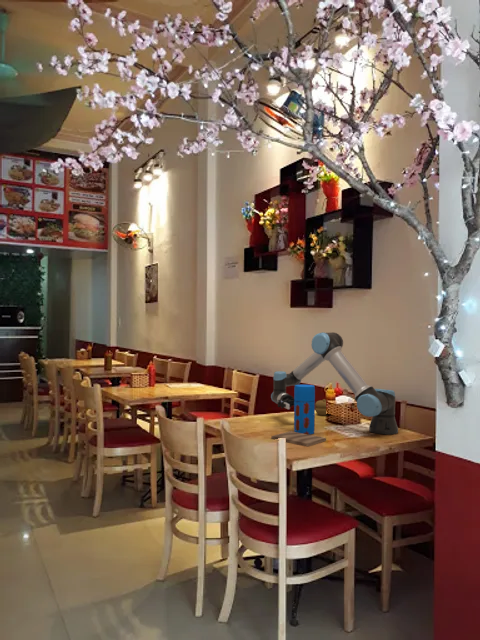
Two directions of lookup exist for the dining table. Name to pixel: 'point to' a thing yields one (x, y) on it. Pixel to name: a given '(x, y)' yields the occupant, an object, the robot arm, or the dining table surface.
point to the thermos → (304, 409)
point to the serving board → (299, 438)
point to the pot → (321, 407)
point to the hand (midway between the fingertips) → (300, 406)
